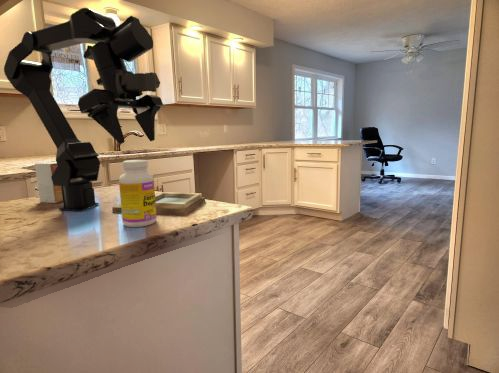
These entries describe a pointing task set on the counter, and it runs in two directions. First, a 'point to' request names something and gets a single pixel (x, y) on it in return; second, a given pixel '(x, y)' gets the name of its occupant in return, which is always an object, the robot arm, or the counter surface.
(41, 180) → the small box
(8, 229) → the counter surface
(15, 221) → the counter surface
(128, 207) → the supplement bottle
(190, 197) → the brown shallow tray
